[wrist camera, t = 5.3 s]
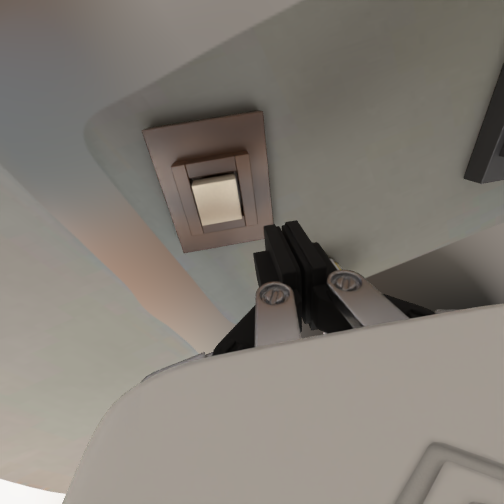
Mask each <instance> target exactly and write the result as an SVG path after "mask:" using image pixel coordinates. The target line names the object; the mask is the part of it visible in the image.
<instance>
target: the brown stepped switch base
mask: <svg viewBox="0 0 504 504" xmlns="http://www.w3.org/2000/svg"><path fill="white" fill-rule="evenodd" d="M142 133H143V136H144V139H145V142H146V145H147V148H148V151H149V153H150V156H151V159H152V162H153V165H154V168H155V171H156V174H157V177H158V180H159V182H160V185H161V188H162V191H163V194H164V197H165V200H166V203H167V206H168V209H169V211H170V214H171V217H172V220H173V223H174V226H175V229H176V232H177V235H178V238H179V240H180V243H181V246H182V249H183V252H184V253H188V252H194V251H200V250H205V249H211V248H216V247H222V246H227V245H233V244H239V243H244V242H250V241H255V240H261V239H265V238H264V226H266V225H272V224H273V216H272V205H271V194H270V183H269V172H268V161H267V151H266V140H265V129H264V118H263V111H259V110H258V111H252V112H246V113H239V114H233V115H227V116H220V117H214V118H208V119H202V120H195V121H189V122H183V123H176V124H170V125H164V126H158V127H151V128H147V129H144V130H142ZM228 174H235V178H236V183H237V189H238V195H239V201H240V207H241V213H242V219H239V220H233V221H227V222H222V223H216V224H210V225H205V226H202V223H201V220H200V216H199V212H198V209H197V205H196V201H195V198H194V194H193V190H192V183H193V180H198V179H204V178H210V177H216V176H222V175H228Z"/></svg>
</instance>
